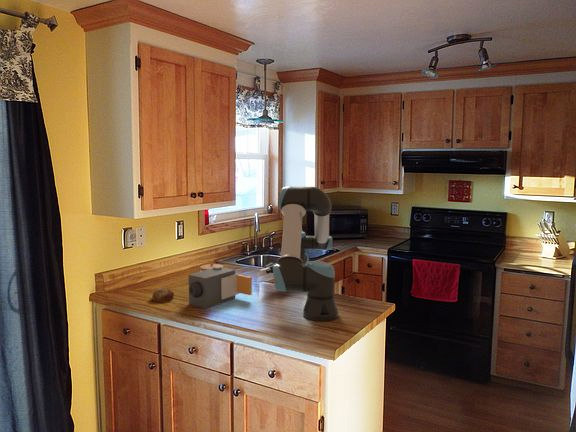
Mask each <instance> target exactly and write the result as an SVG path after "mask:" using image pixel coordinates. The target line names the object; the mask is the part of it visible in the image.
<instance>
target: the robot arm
mask: <svg viewBox="0 0 576 432" xmlns="http://www.w3.org/2000/svg"><path fill="white" fill-rule="evenodd" d="M278 197H279V198H278V210H279V211H281V214H282V216H283V226H282V227H283V228H282V238H281V250H280V251H281V252H280V257H279V258H278V259H276V262H275V263H274V262H272V261H271V262H269V263H268V264H266V265H265V266H264V268H262V269H260V270H259V276H261V277H263V276H265V275H268V274H273V284H274V289H275V290H276V291H277V292H285V293H286V292H290V293H291V292H292V293H293V292H296V293H297V292H299V293H307V294H306V295H307V297H306V298H307V299H306V300H305V305H304V306H303V311H302V316H303V317H304V318H305V319H307V320H309V321H314V320H315V322H316V321H317V322H327V321H328V320H329V321H332V320H333V319H334V320H336V319H337V318H338V317H339V311H338V307H337V303H336V301H335V277H336V275H335V267H334V265H332V264H331V263H328V262H325V261H319V260H310V258H309V255H308V253H306V252H307V251H306V250H311V251H313V250H315V251H316V250H318V251H331V250H332V249H333V237H332V236H331V235H330V214H331V212H332V210H333V209H332V201H331V199H330V197H329V195H328V194H327V193H326V192H325V191H324V190H322V189H320V188H319V187H317V186H293V185H291V186H290V185H289V186H284V187H282V188H281V189H280V192H279V196H278ZM306 212H312V213H313V214H314V215H313V216H314V217H313V218H314V219H313V220H314V222H313V223H314V235H307V234H306V232H305V231H303V230H302V227H303V217H304V216H305V215H306ZM309 260H310V261H309ZM335 318H336V319H335Z"/></svg>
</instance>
